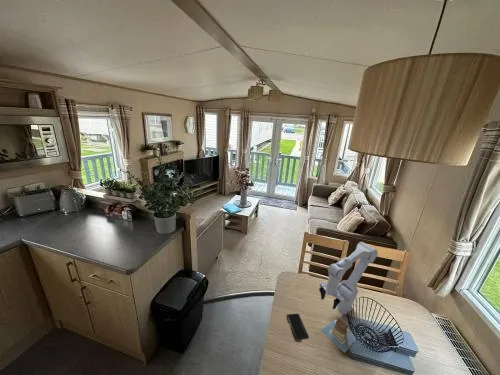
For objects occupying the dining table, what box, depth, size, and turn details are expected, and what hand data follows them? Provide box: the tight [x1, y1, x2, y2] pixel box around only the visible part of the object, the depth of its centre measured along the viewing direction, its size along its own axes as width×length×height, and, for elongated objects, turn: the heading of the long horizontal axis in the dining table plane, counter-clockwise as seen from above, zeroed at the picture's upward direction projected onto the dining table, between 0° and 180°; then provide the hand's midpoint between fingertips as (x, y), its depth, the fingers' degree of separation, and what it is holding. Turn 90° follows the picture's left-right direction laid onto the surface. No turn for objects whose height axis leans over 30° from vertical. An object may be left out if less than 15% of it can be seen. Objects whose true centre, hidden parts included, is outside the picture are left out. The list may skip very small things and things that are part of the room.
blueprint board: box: [320, 318, 349, 354], centre depth 115 cm, size 14×14×1 cm
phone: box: [286, 313, 310, 342], centre depth 118 cm, size 8×1×15 cm
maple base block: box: [332, 326, 350, 342], centre depth 114 cm, size 6×6×4 cm
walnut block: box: [335, 317, 349, 334], centre depth 112 cm, size 4×4×4 cm
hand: (328, 303), depth 122 cm, fingers open, 7 cm apart
